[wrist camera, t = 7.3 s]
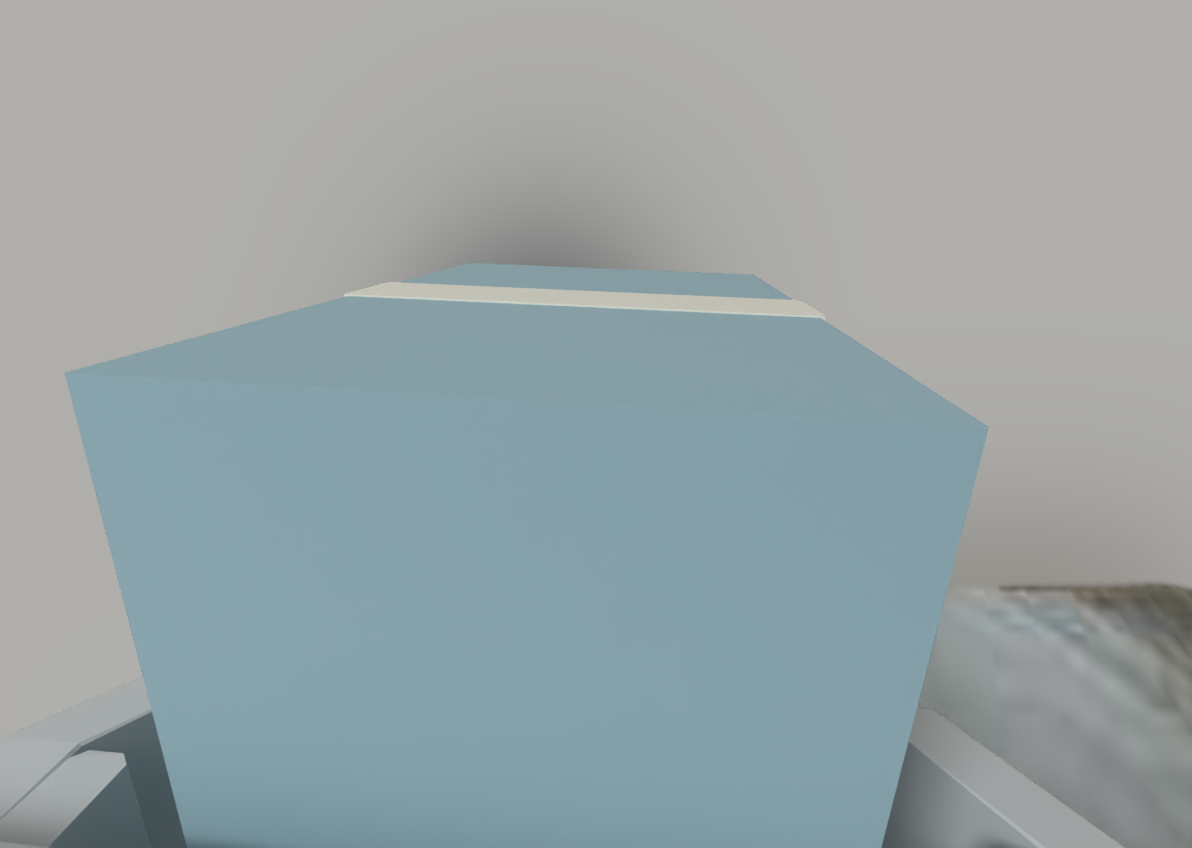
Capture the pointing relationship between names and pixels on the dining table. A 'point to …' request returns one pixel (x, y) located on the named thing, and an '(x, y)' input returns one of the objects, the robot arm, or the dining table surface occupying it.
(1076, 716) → the dining table surface
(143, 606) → the gift box
